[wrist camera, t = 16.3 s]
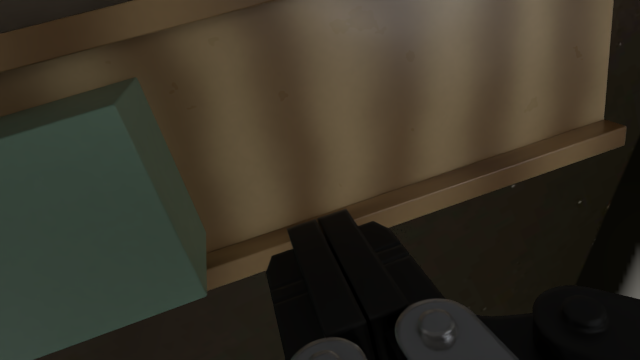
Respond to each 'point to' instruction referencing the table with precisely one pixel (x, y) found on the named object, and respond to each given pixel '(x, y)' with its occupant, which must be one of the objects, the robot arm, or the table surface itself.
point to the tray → (335, 102)
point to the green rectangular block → (91, 222)
